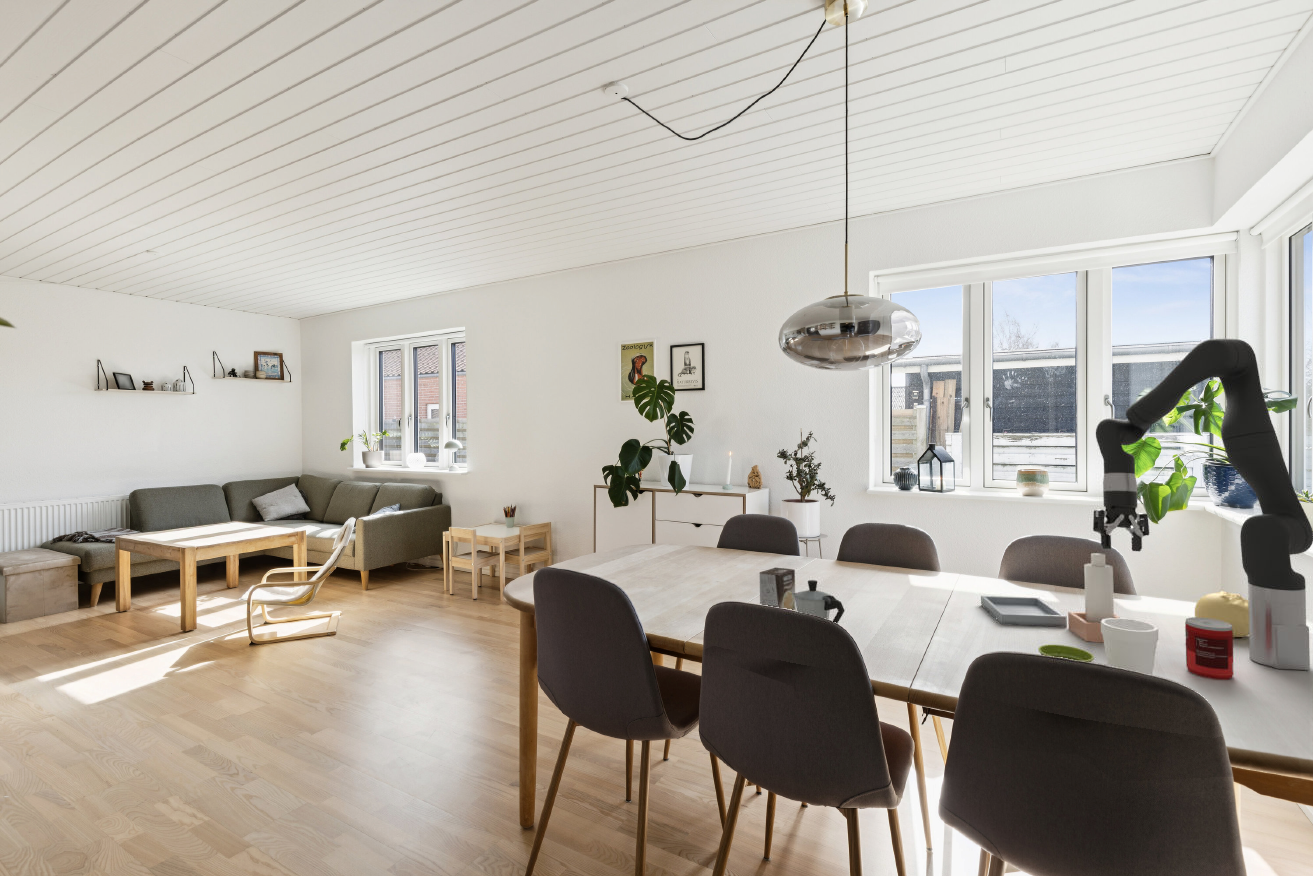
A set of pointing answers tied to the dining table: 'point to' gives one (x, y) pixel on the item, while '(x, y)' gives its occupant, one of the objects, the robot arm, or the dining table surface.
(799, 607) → the coffee maker
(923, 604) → the dining table surface
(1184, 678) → the dining table surface
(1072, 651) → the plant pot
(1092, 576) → the bottle
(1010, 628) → the dining table surface
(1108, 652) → the foam cup
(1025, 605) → the tray
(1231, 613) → the sculpture
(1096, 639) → the holder
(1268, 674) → the dining table surface
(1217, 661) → the canned food
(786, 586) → the coffee box
